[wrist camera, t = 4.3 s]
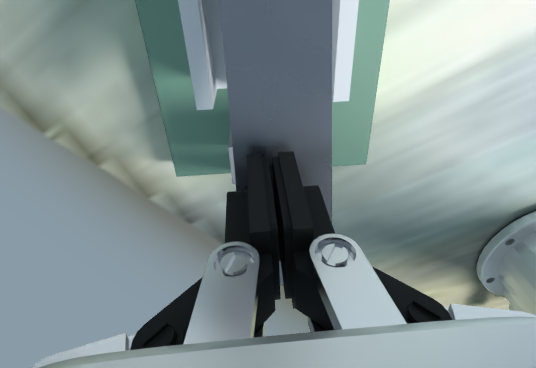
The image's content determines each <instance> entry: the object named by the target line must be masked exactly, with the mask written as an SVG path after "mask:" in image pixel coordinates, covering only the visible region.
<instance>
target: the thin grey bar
mask: <svg viewBox="0 0 536 368" xmlns="http://www.w3.org/2000/svg"><path fill="white" fill-rule="evenodd" d="M219 2H220V13H221V24H222V35H223V46H224V58H225V69H226V80H227V91H228V102H229V113H230V124H231V135H232V146H233V158H234V169H235V180H236V191H248V184H247V158H246V155H248V154H262V157H268V162H269V169H270V176H271V184H272V191H273V198H274V187H273V162H272V157H276V156H278V152H289V151H293V152H294V155H295V159H296V162H297V166H298V170H299V174H300V177H301V181H302V185H303V186H313V185H318V186H319V188H320V190H321V193H322V196H323V199H324V202H325V205H326V208H327V211H328V214H329V217H330V220H331V223H332V0H219ZM279 272H280V285H284V284H283V276H282V269H281V262H280V254H279Z"/></svg>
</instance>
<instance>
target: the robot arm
mask: <svg viewBox="0 0 536 368" xmlns="http://www.w3.org/2000/svg"><path fill="white" fill-rule="evenodd" d="M246 158H247V184H248V191H235V192H227V206H226V229H225V244H222V245H221V246H219V247H217V248H216V249H215V250H214V251H213V252H212V253H211V254H210V256H209V258H208V261H207V264H206V268H205V271H204V275H203V277H202V278H201V279H200V280H198V281H197V282H196V283H195V284H194V285H192V286H191V287H190V288H189V289H188V290H186V291H185V292H184V293H183V294H181V295H180V296H179V297H178V298H176V299H175V300H174V301H173V302H171V303H170V304H169V305H168V306H167V307H165V308H164V309H163V310H162V311H161V312H159V313H158V314H157V315H156V316H154V317H153V318H152V319H151V320H149V321H148V322H147V323H146V324H145V325H144V326H143V327H142V328H141V329H140V330H139V331H138V332H137V333H136V334H134V335H131V336H128V337H127V335H126V333H124V334H120V335H117V336H114V337H111V338H107V339H104V340H101V341H97V342H94V343H91V344H88V345H84V346H81V347H77V348H74V349H71V350H67V351H64V352H61V353H57V354H54V355H51V356H49V357H46V358H44V359H42V360H40V361H39V362H37V363H36V364H35V365H34V366H32V367H31V368H536V211H535V212H532V213H530V214H527V215H525V216H523V217H521V218H519V219H518V220H516V221H514V222H512V223H511V224H509V225H508V226H507V227H505V228H504V229H502V230H501V231H500V232H499V233H498V234H496V235H495V236H494V237H493V238H492V239H491V240H490V241H489V243H488V244H487V245H486V246H485V247H484V249H483V251H482V253H481V254H480V256H479V259H478V262H477V275H478V278H479V279H480V281H481V282H482V284H483V285H484V287H485V288H486V289H487V290H489V291H490V292H492V293H494V294H495V295H499V296H502V297H506V298H507V300H508V301H509V302H510V304H509V310H503V309H495V308H486V307H477V306H468V305H460V304H450V306H449V307H443V306H442V305H441V304H440V303H439V302H437V301H436V300H434V299H433V298H431V297H429V296H427V295H425V294H423V293H421V292H419V291H417V290H416V289H414V288H412V287H410V286H408V285H406V284H404V283H402V282H400V281H399V280H397V279H395V278H393V277H391V276H389V275H387V274H385V273H383V272H381V271H380V270H378V269H376V268H374V267H372V266H371V265H370V263H369V261H368V260H367V258H366V256H365V255H364V253H363V252H362V250H361V248H360V247H359V246H358V244H357V243H356V242H355V241H354V240H352V239H351V238H349V237H346V236H344V235H340V234H335V232H334V229H333V226H332V223H331V220H330V217H329V214H328V211H327V208H326V205H325V202H324V199H323V196H322V193H321V190H320V188H319V186H318V185H313V186H303V185H302V181H301V177H300V174H299V170H298V166H297V162H296V159H295V155H294V152H293V151H289V152H278V156H276V157H272V162H273V187H274V198H273V191H272V184H271V176H270V169H269V162H268V157H262V154H248V155H246ZM279 254H280V262H281V269H282V276H283V284H284V291H285V298H286V299H288V298H292V303H293V308H296V309H297V310H299V311H300V312H302V313H303V314H304V315H306V316H307V322H308V326H309V329H310V332H309V333H298V334H289V335H277V336H266V337H264V335H265V321H266V320H267V319H268V318H269V317H270V316H271V315H272V313H273V312H274V311H275V300H277V299H280V272H279Z"/></svg>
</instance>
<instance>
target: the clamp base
mask: <svg viewBox="0 0 536 368" xmlns="http://www.w3.org/2000/svg"><path fill="white" fill-rule="evenodd" d="M389 1H390V0H332V166H347V165H362V164H366V160H367V153H368V146H369V139H370V133H371V126H372V119H373V112H374V105H375V98H376V91H377V84H378V77H379V70H380V64H381V57H382V50H383V43H384V36H385V29H386V22H387V15H388V8H389ZM135 2H136V6H137V10H138V15H139V19H140V23H141V27H142V32H143V36H144V40H145V44H146V49H147V53H148V57H149V61H150V66H151V70H152V74H153V78H154V83H155V87H156V91H157V95H158V99H159V104H160V108H161V112H162V116H163V121H164V125H165V129H166V133H167V138H168V142H169V146H170V150H171V155H172V159H173V163H174V167H175V171H176V176H192V175H208V174H223V173H231V174H232V182H233V184H236V180H235V169H234V158H233V146H232V135H231V124H230V113H229V102H228V91H227V80H226V69H225V58H224V46H223V35H222V24H221V13H220V2H219V0H135Z"/></svg>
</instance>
